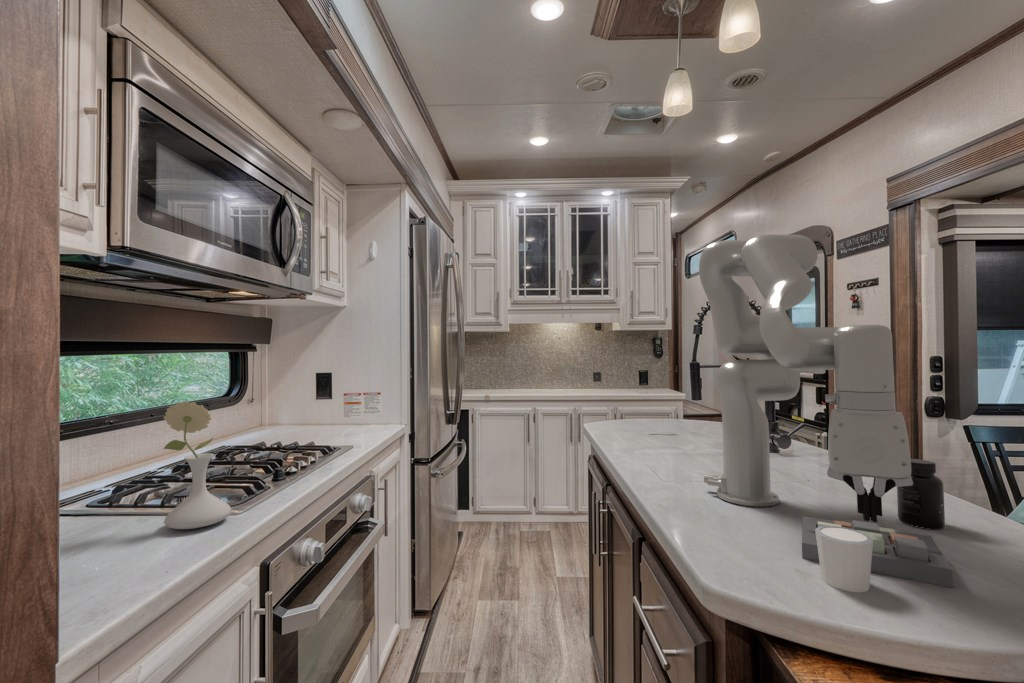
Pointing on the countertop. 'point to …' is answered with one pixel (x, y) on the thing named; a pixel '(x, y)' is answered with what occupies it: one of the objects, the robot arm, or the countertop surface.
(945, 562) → the keypad
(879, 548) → the key sage
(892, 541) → the key terracotta
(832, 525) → the key cream
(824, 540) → the white oval cup
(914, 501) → the supplement bottle
